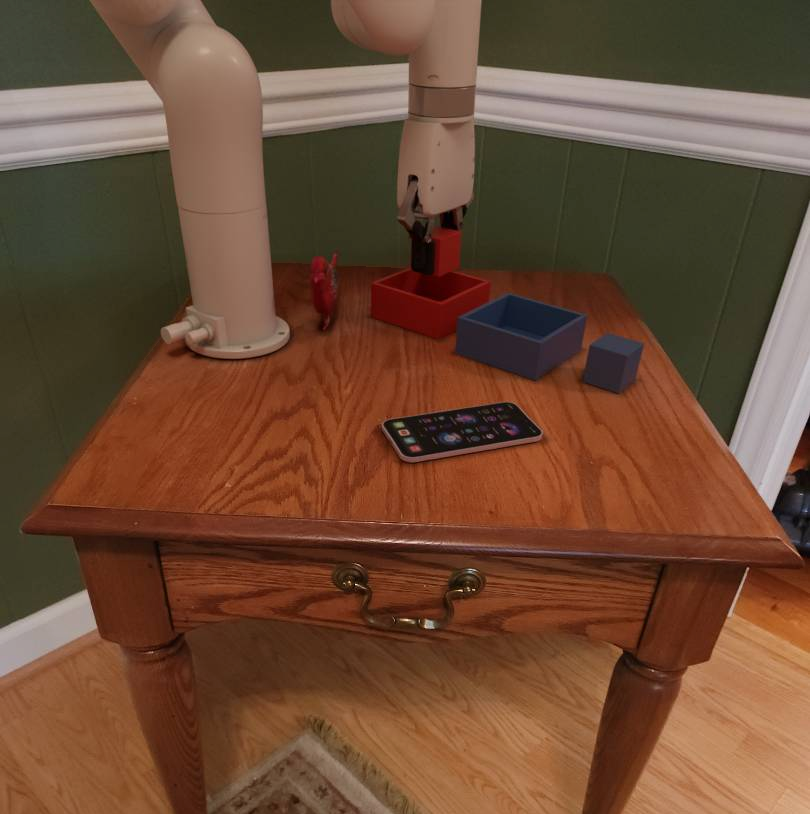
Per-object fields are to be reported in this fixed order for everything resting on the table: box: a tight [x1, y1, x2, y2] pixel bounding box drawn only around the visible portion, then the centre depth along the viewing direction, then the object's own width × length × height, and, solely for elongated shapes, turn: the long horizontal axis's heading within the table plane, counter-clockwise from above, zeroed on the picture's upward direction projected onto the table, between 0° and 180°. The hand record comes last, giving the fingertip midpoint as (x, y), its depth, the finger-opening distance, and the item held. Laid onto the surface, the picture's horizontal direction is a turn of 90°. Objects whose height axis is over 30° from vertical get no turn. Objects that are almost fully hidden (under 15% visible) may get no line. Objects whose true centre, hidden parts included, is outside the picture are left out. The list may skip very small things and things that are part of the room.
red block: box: [410, 224, 462, 277], centre depth 92 cm, size 4×4×4 cm
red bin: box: [370, 266, 492, 340], centre depth 96 cm, size 11×11×4 cm
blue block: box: [582, 332, 645, 394], centre depth 82 cm, size 4×4×4 cm
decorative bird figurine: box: [309, 250, 339, 332], centre depth 92 cm, size 3×18×10 cm, turn 177°
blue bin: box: [454, 292, 589, 382], centre depth 87 cm, size 11×11×4 cm
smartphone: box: [381, 401, 544, 463], centre depth 72 cm, size 8×1×15 cm
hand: (434, 265), depth 93 cm, fingers closed on red block, 4 cm apart
